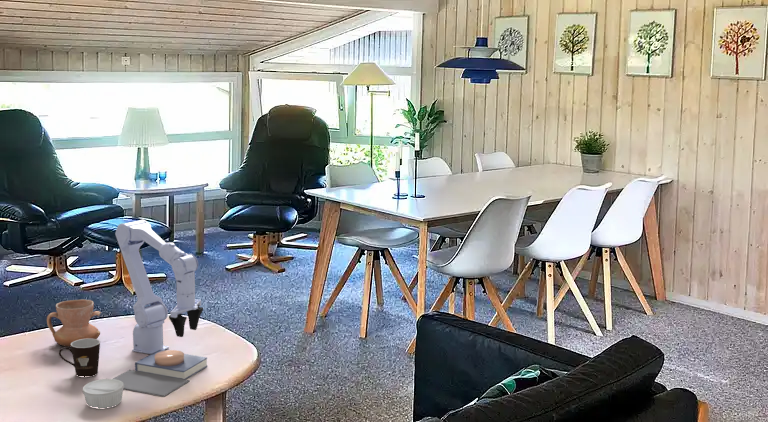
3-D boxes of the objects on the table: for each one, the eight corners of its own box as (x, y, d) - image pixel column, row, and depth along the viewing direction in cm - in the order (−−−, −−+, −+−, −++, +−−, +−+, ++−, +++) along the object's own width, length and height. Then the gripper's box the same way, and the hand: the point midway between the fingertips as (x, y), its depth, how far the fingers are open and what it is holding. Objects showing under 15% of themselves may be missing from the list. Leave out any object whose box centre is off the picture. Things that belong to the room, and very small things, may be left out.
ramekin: (85, 413, 240) (84, 395, 239) (81, 398, 250) (80, 381, 249) (126, 407, 245) (126, 390, 244) (121, 393, 255) (121, 376, 254)
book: (135, 371, 271) (134, 362, 271) (160, 358, 283) (159, 349, 283) (183, 380, 265) (183, 371, 264) (207, 366, 277) (207, 357, 276)
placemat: (102, 385, 260) (102, 383, 260) (130, 370, 272) (129, 369, 272) (164, 396, 252) (164, 395, 252) (189, 381, 264) (189, 380, 264)
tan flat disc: (148, 363, 270) (148, 357, 270) (166, 354, 278) (165, 348, 278) (173, 367, 267) (173, 361, 267) (189, 358, 275) (189, 352, 275)
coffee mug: (107, 371, 272) (105, 340, 270) (89, 380, 264) (88, 349, 262) (76, 366, 275) (75, 336, 273) (58, 375, 267) (56, 344, 265)
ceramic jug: (108, 336, 304) (105, 297, 301) (96, 350, 289) (93, 309, 287) (56, 337, 303) (53, 298, 300) (41, 351, 289) (38, 310, 286)
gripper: (183, 299, 270) (184, 341, 272) (208, 288, 283) (209, 327, 286) (164, 297, 272) (165, 338, 275) (190, 285, 285) (191, 325, 288)
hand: (186, 332), depth 280 cm, fingers open, 7 cm apart
